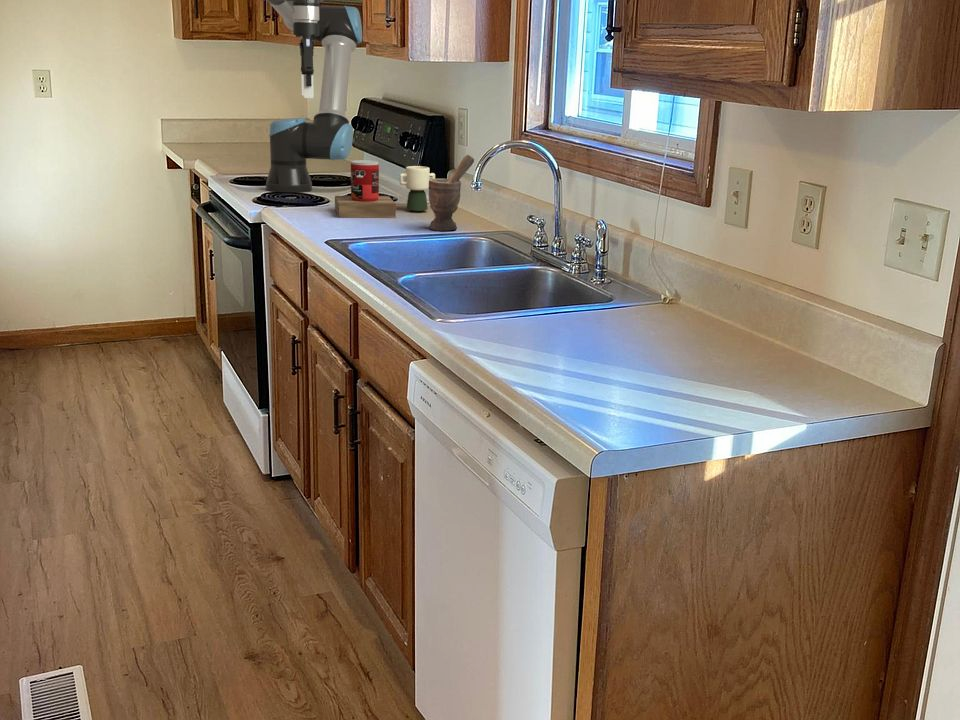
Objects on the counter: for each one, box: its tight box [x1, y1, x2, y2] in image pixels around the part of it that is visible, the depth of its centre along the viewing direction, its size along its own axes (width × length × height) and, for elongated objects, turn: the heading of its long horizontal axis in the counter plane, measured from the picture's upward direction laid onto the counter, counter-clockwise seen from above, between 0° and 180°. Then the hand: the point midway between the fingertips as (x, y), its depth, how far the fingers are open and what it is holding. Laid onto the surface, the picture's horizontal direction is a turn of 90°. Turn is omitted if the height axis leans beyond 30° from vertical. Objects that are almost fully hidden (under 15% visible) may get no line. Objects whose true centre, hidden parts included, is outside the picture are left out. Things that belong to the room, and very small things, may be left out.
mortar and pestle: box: [428, 154, 475, 232], centre depth 268 cm, size 12×9×20 cm
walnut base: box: [334, 195, 397, 219], centre depth 292 cm, size 16×16×4 cm
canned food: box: [350, 159, 380, 202], centre depth 289 cm, size 8×8×11 cm
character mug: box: [399, 165, 436, 212], centre depth 297 cm, size 11×7×13 cm, turn 110°
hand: (307, 97), depth 299 cm, fingers open, 13 cm apart
